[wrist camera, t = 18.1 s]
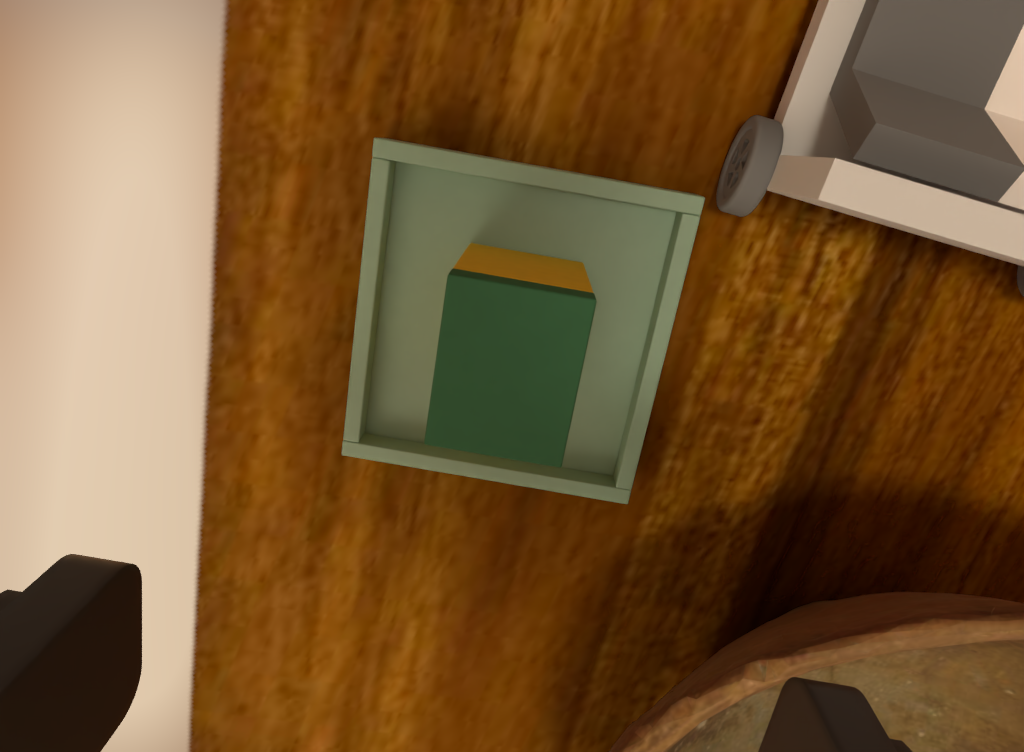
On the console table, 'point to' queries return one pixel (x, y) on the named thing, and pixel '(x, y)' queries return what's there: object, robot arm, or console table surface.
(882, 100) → the toy car
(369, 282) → the soap dish
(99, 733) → the robot arm
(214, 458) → the console table surface
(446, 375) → the sponge
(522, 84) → the console table surface
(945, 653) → the bowl
